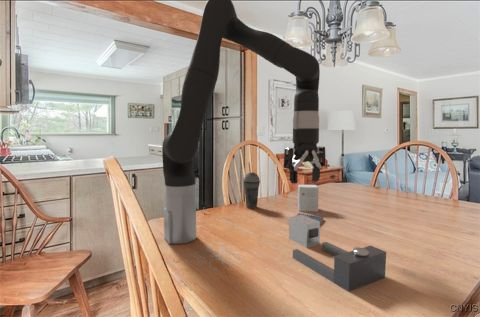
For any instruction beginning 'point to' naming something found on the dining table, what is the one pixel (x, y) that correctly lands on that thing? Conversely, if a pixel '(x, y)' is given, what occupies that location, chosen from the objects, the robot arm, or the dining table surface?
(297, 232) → the block
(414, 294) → the dining table surface
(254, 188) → the beverage cup
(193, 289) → the dining table surface
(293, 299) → the dining table surface
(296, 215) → the woven mat
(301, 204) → the small box
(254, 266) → the dining table surface
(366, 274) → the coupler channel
